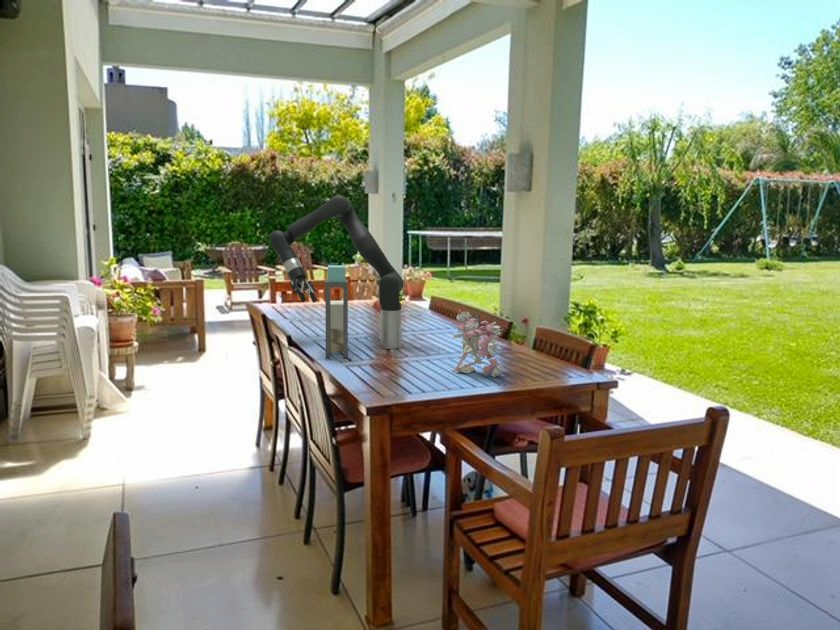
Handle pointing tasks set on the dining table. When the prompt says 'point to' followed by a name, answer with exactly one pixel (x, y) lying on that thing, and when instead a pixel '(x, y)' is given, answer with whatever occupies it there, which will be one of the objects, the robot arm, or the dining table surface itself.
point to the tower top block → (336, 314)
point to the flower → (485, 344)
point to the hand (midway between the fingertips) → (310, 301)
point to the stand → (328, 316)
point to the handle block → (336, 273)
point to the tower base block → (336, 340)
